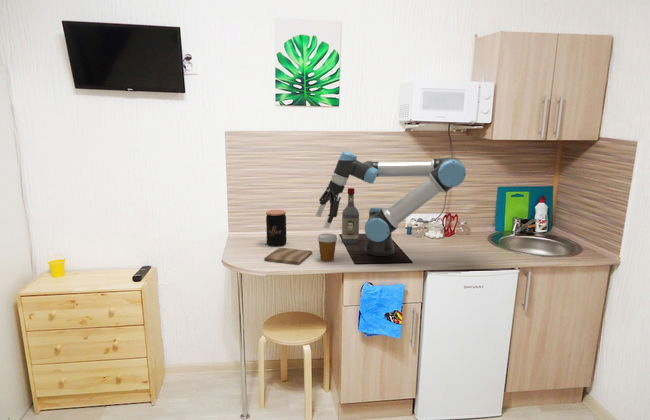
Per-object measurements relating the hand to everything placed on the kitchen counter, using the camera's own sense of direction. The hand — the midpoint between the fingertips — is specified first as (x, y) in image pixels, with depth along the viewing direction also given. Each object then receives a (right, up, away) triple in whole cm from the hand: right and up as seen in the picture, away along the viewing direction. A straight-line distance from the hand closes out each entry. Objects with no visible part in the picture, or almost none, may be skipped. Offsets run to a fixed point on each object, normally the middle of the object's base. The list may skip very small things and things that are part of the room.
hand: (321, 222), depth 215 cm
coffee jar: (-25, -13, +24) cm, 37 cm away
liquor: (+16, -12, +29) cm, 35 cm away
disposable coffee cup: (+3, -18, -1) cm, 19 cm away
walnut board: (-16, -17, +2) cm, 24 cm away
